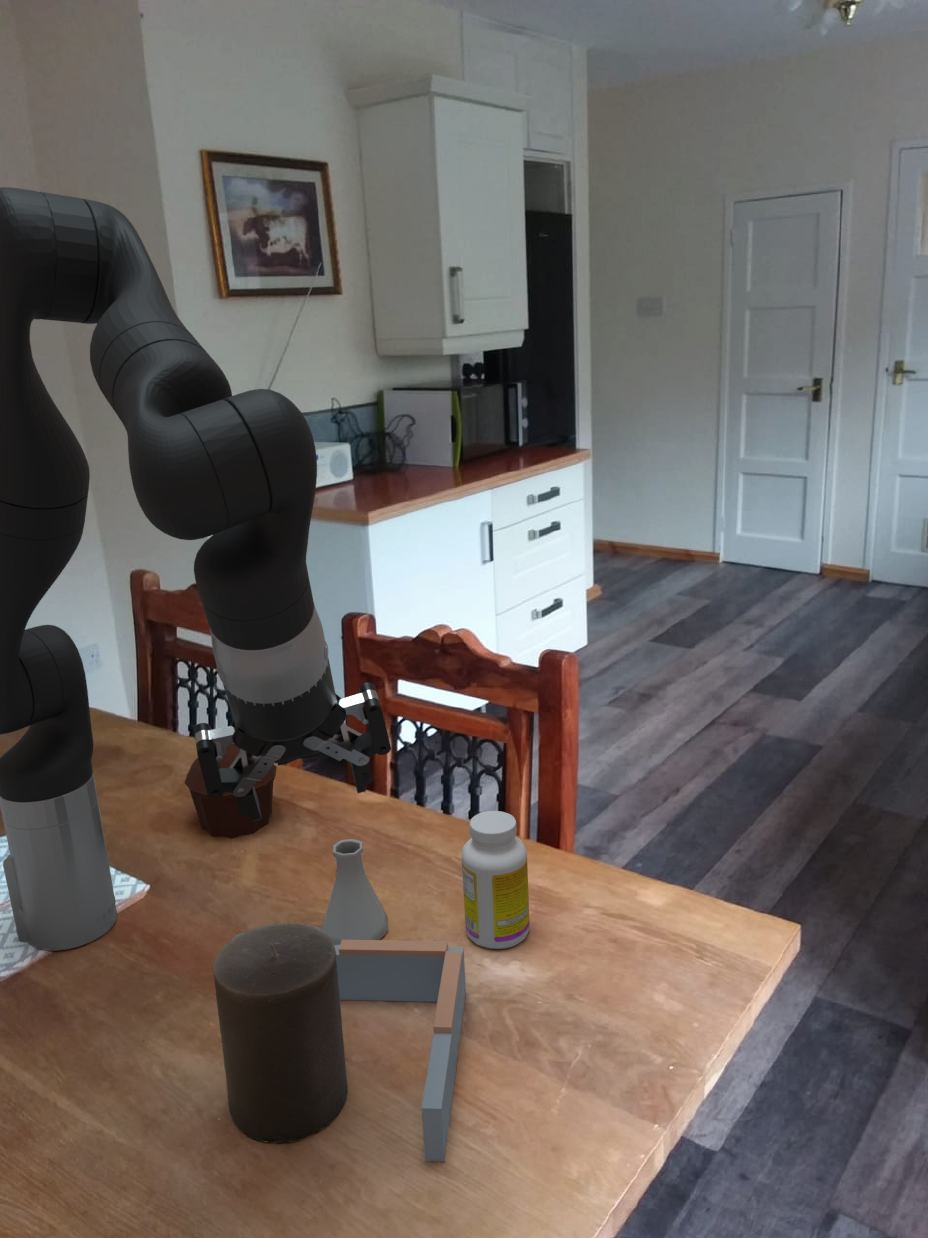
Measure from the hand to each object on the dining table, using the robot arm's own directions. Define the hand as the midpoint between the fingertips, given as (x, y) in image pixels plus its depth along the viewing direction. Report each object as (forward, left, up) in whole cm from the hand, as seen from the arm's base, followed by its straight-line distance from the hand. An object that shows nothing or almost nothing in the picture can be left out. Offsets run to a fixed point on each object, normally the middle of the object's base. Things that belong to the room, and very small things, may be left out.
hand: (307, 797), depth 80 cm
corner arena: (+1, -2, -24) cm, 25 cm away
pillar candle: (-2, -6, -25) cm, 26 cm away
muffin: (-21, +40, -25) cm, 52 cm away
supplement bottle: (+14, +17, -25) cm, 33 cm away
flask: (-1, +17, -25) cm, 30 cm away
